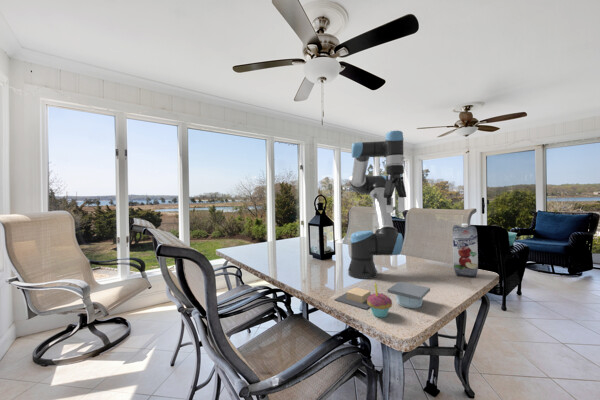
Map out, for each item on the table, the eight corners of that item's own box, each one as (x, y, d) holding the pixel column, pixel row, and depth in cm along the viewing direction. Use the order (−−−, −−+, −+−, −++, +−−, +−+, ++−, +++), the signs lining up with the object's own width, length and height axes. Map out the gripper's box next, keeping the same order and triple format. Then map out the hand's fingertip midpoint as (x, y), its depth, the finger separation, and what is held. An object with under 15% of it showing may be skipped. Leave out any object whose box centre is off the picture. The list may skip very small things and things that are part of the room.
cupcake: (382, 322, 83) (381, 286, 83) (362, 313, 90) (361, 280, 90) (397, 315, 88) (396, 281, 88) (377, 307, 95) (376, 275, 95)
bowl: (393, 303, 98) (392, 292, 97) (401, 296, 104) (401, 286, 104) (417, 310, 91) (417, 298, 91) (425, 302, 98) (424, 291, 98)
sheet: (387, 292, 97) (387, 289, 97) (399, 284, 106) (399, 281, 106) (420, 300, 89) (420, 297, 89) (430, 290, 98) (430, 287, 98)
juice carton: (452, 271, 137) (451, 222, 137) (476, 273, 132) (475, 222, 132) (454, 276, 129) (453, 223, 129) (478, 278, 125) (477, 224, 124)
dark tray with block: (334, 300, 102) (334, 292, 102) (352, 290, 113) (352, 283, 112) (366, 309, 93) (365, 301, 93) (382, 298, 103) (382, 290, 103)
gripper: (392, 162, 103) (393, 213, 103) (412, 166, 121) (413, 210, 121) (374, 164, 108) (375, 213, 108) (397, 168, 126) (398, 210, 126)
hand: (395, 212), depth 115 cm, fingers open, 13 cm apart
